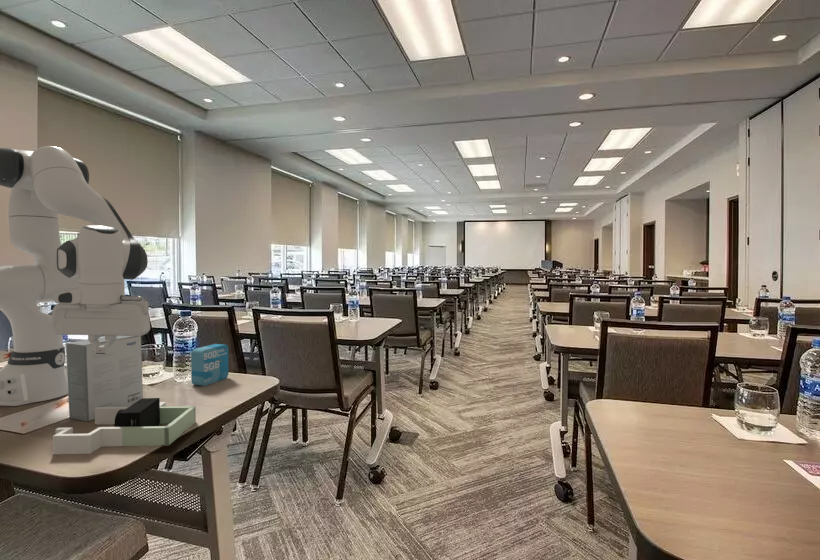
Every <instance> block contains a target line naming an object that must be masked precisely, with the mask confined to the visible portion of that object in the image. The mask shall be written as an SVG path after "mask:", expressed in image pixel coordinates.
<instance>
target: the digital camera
mask: <svg viewBox="0 0 820 560" xmlns="http://www.w3.org/2000/svg"><path fill="white" fill-rule="evenodd" d="M160 402H161V400H160V397H150V398H149V397H147V398H145V397H143V398H142V399H140V400H139V401H137V402H136V403H134V404H133V405H131V406H130V407H128V408H127V409H121V410H119V411H118V412H117V414H116V417H115V424H114V427H147V426H161V424H160Z"/></svg>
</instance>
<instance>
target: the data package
mask: <svg viewBox="0 0 820 560" xmlns="http://www.w3.org/2000/svg"><path fill="white" fill-rule="evenodd" d="M190 359H191V360H190V366H191V368H190V369H191V370H190V371H191V374H190V375H191V380H190V381H191V383H192V385H194V386H200V387H201V386H202V387H205V386H206V387H207V386H209V385H212V384H215V383H218V382H221V381H223V380H226V379H227V378H228V377H229V347H228V345H227V344H223V343H221V344H220V343H213V344H209V345H205V346H201V347H197V348H196V347H195V348H194V349H192V351H191V353H190Z"/></svg>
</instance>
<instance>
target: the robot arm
mask: <svg viewBox="0 0 820 560" xmlns="http://www.w3.org/2000/svg"><path fill="white" fill-rule="evenodd" d="M89 183H90V172H89V169H88V166H87V165H86V164H85V162H84V161H82V160H80V159H78V158H74V157H73V156H72V155H71V154H70V153H69V152H68V151H66V150H65V149H63V148H61V147H57V146H52V145H47V146H41V147H37V149H35V150H25V149H14V148H12V147H0V186H1V187H4V188H8V189H9V188H10V192H9V199H8V210H7V211H8V213H7V214H8V232H9V233H8V234H9V236H8V237H9V242H10V244H11V245H12V246H13V247H14V248H15V249H17V250H18V251H20V252H23V253H25V254H28V255H30V256H32V257H33V258H34V259H35V262H36V264H35V265H1V266H0V311H1V312H2V313H3V314H4V315H5V317H6V318H7V320H8V321H9V323H10V326H11V330H12V331H11V332H12V340H13V350H12V351H11V352H9V353H5V354H3V356H4V357H3V359H8V360H7V362H6V364H5V365H4V366H3V367H1V368H0V406H2V407H3V406H5V407H17V406H23V405H28V404H32V403H37V402H44V401H49V400H53V399H57V398H60V397H64V396H65V395H68V378H67V372H66V368H65V362H66V346H64V336H68V335H69V336H71V335H72V336H87V339H88V340H89V342H90V343H91V345H92V346H93V347H94V354H110V353H111V346H112V345H113V343H114V341H115V340H116V336H141V337H142V336H144V335H147V334H148V333H149V332H150V330H151V321H150V315H149V310H150V307H149V305H150V304H149V301H148V300H147V299H145V297H143V296H140V295H135V296H133V295H125V293H126V292H125V290H126V289H125V280H135V279H137V278H138V277H139V276H142V275H141V274H143V273H144V272H145V271H146V270H147V267H148V262H149V261H148V254H147V252H146V251H145V248H143V246H142V244H140V243H139V242H138V241H137V240H136V239H135V237H134V236H133V235H132V233H131V232H130V230H129V229H128V227H127V225H126V224H125V222H124V221H123V219H122V218H121V217H120V214H119V213H118V212H117V210H116V209H115V207H114V206H113V205H112V203H111V201H109V200H108V199H107V198H105V197H104V196H102V195H100V194H99V193H98V192H97V191H95V190H94V189H93V187H91V186H90V185H89ZM59 215H61V216H65V217H71V218H75V219H77V220H82V221H85V222H87V223H91V225H89V224H88V225H84V226H81V227H80V228H79V232H78V233H79V234H78V236H76V237H75V238H73V239H71V240H66V241H65V242H63V243H62V242H61V235H60V227H59ZM47 302H49V303H50V302H54V303H55V306H53V309H52V312H51V314H49V313H46V312H42V311H40V309H39V307H38V303H47ZM63 335H64V336H63ZM101 336H105V340H107V342H106V344H105V345H101V343H100V342H99V340H98V338H100V337H101Z"/></svg>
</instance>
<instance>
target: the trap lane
mask: <svg viewBox="0 0 820 560" xmlns="http://www.w3.org/2000/svg"><path fill="white" fill-rule="evenodd" d="M132 405H133V404H132ZM129 407H130V406H129ZM127 408H128V407H97V408H95V419H94V425H115V417H116V414H117V412H118V411H119V410H121V409H127ZM196 408H197V407H196V406H195V405H194V406H192V405H189V406H186V405H185V406H183V405H182V406H167V402H166V401H160V425H159V426H147V427H115V426H99V427H96V428H94V430H92V431H90V432H88V433H74V427H57V428H56V429H55V434H54V435H53V436H52V448H53V449H52V450H53V451H52V454H53V455H86V454H88V455H90V454H92V453H94V452H96V451H97V450H98V449H100V448H101V447H102V448H103V447H151V446H153V447H154V446H155V447H156V446H157V447H159V446H160V445H164V446H170V445H172V443H174V442H175V441H176V440H177V439H178V438H179V437H180V436H181V435H183V432H184V431H185V430H186V431H187V430H188V429H189V428H190V427H192V426H193V425H194V424H195V423H197V421H196V420H197V418H196V417H197V416H196V411H197V410H196ZM161 424H163V425H164V424H167V425H164V426H163V425H162V426H161ZM186 431H185V432H186ZM185 432H184V433H185Z"/></svg>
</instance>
